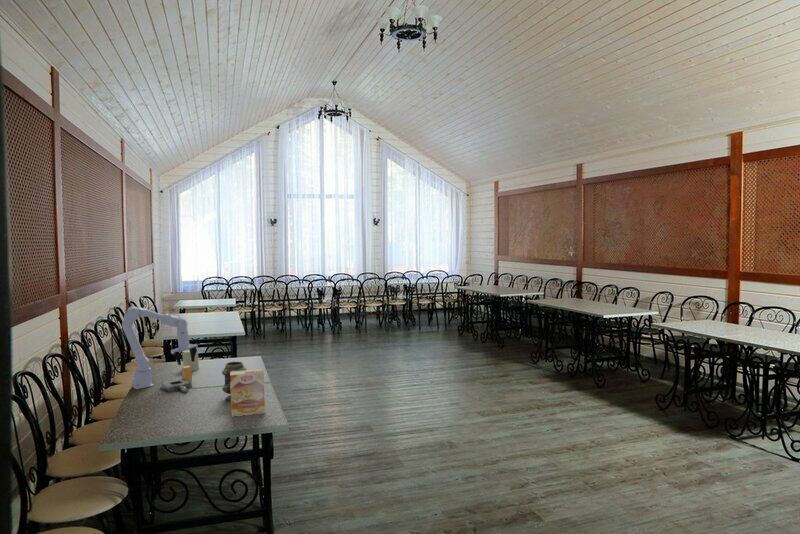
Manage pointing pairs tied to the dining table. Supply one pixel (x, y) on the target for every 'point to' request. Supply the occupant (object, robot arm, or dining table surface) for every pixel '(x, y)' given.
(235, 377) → the coffeecake box
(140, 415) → the dining table surface
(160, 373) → the dining table surface
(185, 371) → the tan cardboard box
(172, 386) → the bracket head
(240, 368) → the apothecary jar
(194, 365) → the can
